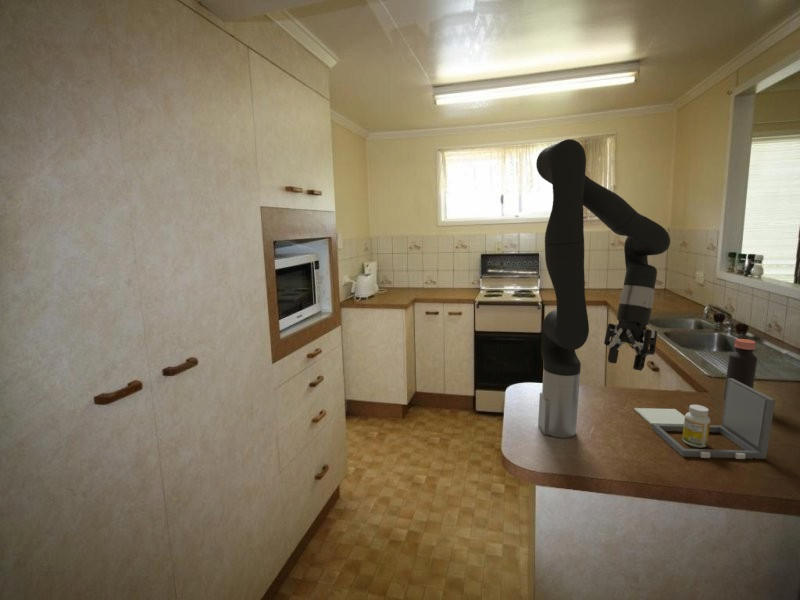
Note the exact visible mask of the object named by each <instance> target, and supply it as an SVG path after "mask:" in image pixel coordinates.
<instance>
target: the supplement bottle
mask: <svg viewBox="0 0 800 600" xmlns="http://www.w3.org/2000/svg"><path fill="white" fill-rule="evenodd" d="M688 407H689V409H688V412H686V413H685V415H684V416H685V420H684V429H683V432H682V437H681V438H682V441H683V443H685V444H686V445H689V446H691V447H694V448H705V447H707V446H708V443H709V435H710V432H709V428H710V425H711V419H710V417H709V416H708V415H709V411H710V409H709V408H708V407H706V406H703V405H700V404H690V405H689V406H688Z"/></svg>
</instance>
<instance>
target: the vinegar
mask: <svg viewBox="0 0 800 600" xmlns="http://www.w3.org/2000/svg"><path fill="white" fill-rule="evenodd" d="M734 340H735V341H734V350H733V352H731V353H729V354H728V362H727V370H726V377H725V384H724V385H725V386H724V391H723V393H724V394H723V400H724V401H725V395H726V387H727V380H728V378H733V379H735V380H737V381H739V382H741V383H743V384H745V385H747V386H749V387H751V388H753V389H754V387H755V386H754V384H755V380H756V379H755V377H756V370H757V364H758V358H757V356H756V355H755V354H754V351H755V349H756V344H757V343H756V341H754V340H752V339H746V338H736V339H734Z"/></svg>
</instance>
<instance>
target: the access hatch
mask: <svg viewBox="0 0 800 600" xmlns="http://www.w3.org/2000/svg"><path fill="white" fill-rule="evenodd" d="M775 404H776V399H774V398H772V397H770V396H769V395H767V394H764V393H762V392H761V391H759V390H757V389H755V388H754V387H753V388H751V387H749V386H747V385H745V384H743V383H741V382H739V381H737V380H735V379H733V378H728V380H727V387H726V395H725V400H724V404H723V411H722V417H721V423H720V425H712V424H710V428H709V433H718V434H721V435H722V436H723V437H725V438H726V437H727V438H726V439H728V440H729V439H730V440H729V441H731V442H732V441H733V442H734V445H736V444H737V446H738V447H739V446H740V447H739V448H741V449H738V450H737V449H709V448H708V449H704V448H703V449H702V448H701V449H700V448H685V447H684V446H682V445H681V444H680V443H679V442H678V441H677V440H676V439H675V438H673V437H672V436H671V435H670V434H669V433H667V432H681V433H683V429H684V425H675V424H653V425H651V429H652V430H653V431H654V433H656V434H657V435H658V436H659V437H660V438H661V439H662V440H663V441H665V442H666V443H667V444H668V445H669V446H670V447H671V448H673V450H675V451H676V452H677V453H678V454H679V455H680V456H681V457H683V458H684V457H687V458H701V459H703V458H704V459H711V458H716V459H717V458H719V459H720V458H721V459H726V458H727V459H737V460H745V459H753V458H755V459H756V460H757V459H758V460H760V459H762V460H766V459H767V454H768V447H769V441H770V436H771V429H772V423H773V416H774V410H775ZM733 442H732V443H733ZM743 449H744V450H743Z"/></svg>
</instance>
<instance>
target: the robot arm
mask: <svg viewBox="0 0 800 600" xmlns="http://www.w3.org/2000/svg"><path fill="white" fill-rule="evenodd" d="M586 155H587V154H586V150H585V149H584V146H583V145H582V144H581V143H580V142H579V141H577V140H576V139H574V138H573V139H572V138H567V139H566V138H565V139H562V140H560V141H557V142H556V143H553V144H551V145H549V146H546V147H545V148H544V149H543V150H541V151H540V153H538V156H537V157H536V163H535V164H536V171H537V172H538V175H539V176H540V177H541V178H542V179H543V180H545V181H546V182H547V183H549V184H551V185H552V205H551V206H552V207H551V212H550V215H549V219H548V222H547V225H546V229H545V233H544V256H545V257H544V258H545V260H544V261H545V265H546V270H547V272H548V276H549V279H550V280H551V283H552V286H553V290H554V294H555V299H556V302H555V303H556V309H554V310H551V311H549V312H548V313H547V314H546V316H545V317H544V319H543V321H542V327H541V345H540V347H541V348H540V349H541V350H540V351H541V358H542V362H543V370H542V389H541V391H542V392H540V393H539V401H538V403H539V404H538V420H537V421H538V422H537V425H538V427H539V428H540V430H541V432H542V434H543V435H544V436H546V435H548V436H552V437H555V438H559V439H560V438H562V439H565V438H567V439H568V438H572V437H574V436H575V435H576V434H577V425H578V424H577V423H578V408H579V394H580V382H581V370H582V369H581V366H582V364H581V361H580V359H579V357H578V355H577V354H576V350H578V349H580V348H582V347H583V346H584V345H585V343H586V342H587V340H588V338H589V333H590V326H589V317H588V308H587V302H586V288H585V287H586V286H585V285H586V284H585V283H586V281H585V279H586V277H585V276H586V275H585V235H584V234H585V233H584V232H585V231H584V222H585V221H584V207H585V209H587V210H588V211H589V212H590V213H592V214H593V215H594V216H595V217H597V219H598V220H600V221H601V222H602V223H603V224H604V225H605V226H606V227H607V228H608V229H610V230H611V232H613V233H614V234H616V235H617V236H623V237H626V239H625V241H624V244H623V245H624V247H623V249H624V250H623V251H624V252H623V253H624V261H625V270H626V271H625V276H624V281H623V286H622V290H621V293H620V297H619V303H618V308H617V314H616V320H617V321H618V323H617V324H616V323H608V324H607V328H606V333H605V337H604V341H603V344H604V345H605V346H607V347H608V349H609V351H608V355H607V362H608V363H611V364H617V363H618V357H619V351H620V350H619V349H620V348H621V347H622V346H623V345H625V344H630V345H631V346H632V347H633V348H634V350H635V353H636V354H635V356H634V361H633V367H632V369H633V370H635V371H643V369H644V368H645V363H646V357H647V356H650V355H652V356H653V355H655V353H656V352H655V351H656V346H657V337H658V331H657V330H653V329H648V328H647V326H648V325H650V323H651V316H652V311H653V305H654V300H655V299H654V298H655V288H656V282H657V277H658V276H657V275H658V270H657V268H656V267H655V266H653V265H652V264H649V261H648V257H649V256H658V255H662V254H663V253H665V252H666V251H667V250H668V249H669V248H670V246H671V237H670V234H669V233H668V231H667V230H666V229H665V227H663V226H662V225H661V224H659V223H658V222H656V221H654V220H652V219H651V218H649V217H647V216H644V215H643V214H640V213H639V212H638V211H636V209H634V208H633V207H632V205H631V204H629V203H628V202H627V201H626V200H625V199H624V198H623V197H621V196H620V195H618V194H617V193H615V192H614V191H612V190H610V189H608V188H607V187H604V186H603V185H601V184H599V183H598V182H596V181H594V180H593V179H592V178H590V177H588V176H587V175H586V170H587V156H586Z"/></svg>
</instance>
